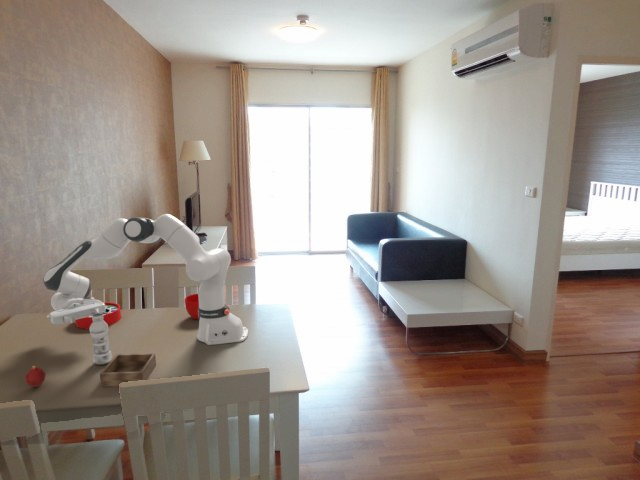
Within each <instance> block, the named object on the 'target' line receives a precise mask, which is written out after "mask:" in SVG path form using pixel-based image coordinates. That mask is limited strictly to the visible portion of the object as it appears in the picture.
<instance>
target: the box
mask: <svg viewBox="0 0 640 480" xmlns="http://www.w3.org/2000/svg"><path fill="white" fill-rule="evenodd" d="M156 358H157V357H156V353H155V352H154V353H153V352H152V353H119V354H115V355H114V357H112V359H111V361H110V362H109V363H107V365H106V366H105V367H104V368H103V370H102V371H101V372H100V373H99V378H100V387H101V386H113V387H120V386H119V384H120V383H122V382H128V381H138V380H146V379H147V380H148V379H149V378H150V377H151V374H152V372H153V371H154V369H155V368H156V366H157V360H156Z"/></svg>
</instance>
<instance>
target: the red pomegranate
mask: <svg viewBox="0 0 640 480" xmlns="http://www.w3.org/2000/svg"><path fill="white" fill-rule="evenodd" d="M45 379H46V372H45V371H44V370H43V369H42V368H41V367H37V366H35V365H32V366H31V369H29V370H28V372H27V373H26V374H25V379H24V380H25V382H26V384H27V385H28V386H31V387H35V388H39V387H40V385H41V386H42V384H43V383H44V382H45Z"/></svg>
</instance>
